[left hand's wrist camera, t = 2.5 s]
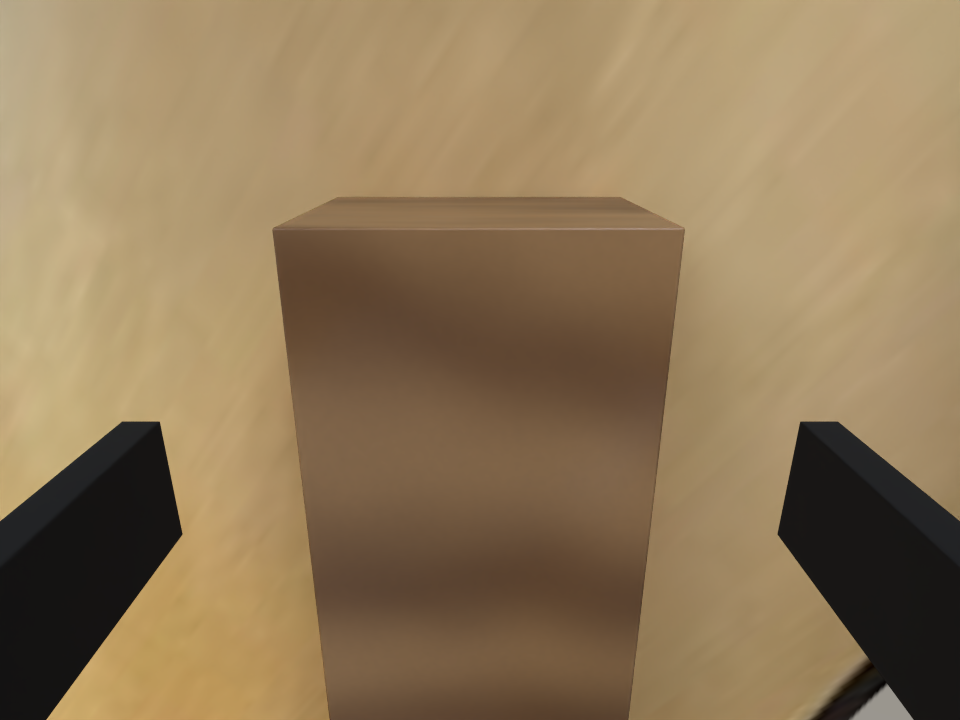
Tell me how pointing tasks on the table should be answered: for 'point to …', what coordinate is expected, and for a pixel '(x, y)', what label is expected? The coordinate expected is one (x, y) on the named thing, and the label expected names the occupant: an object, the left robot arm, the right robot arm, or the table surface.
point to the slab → (478, 446)
